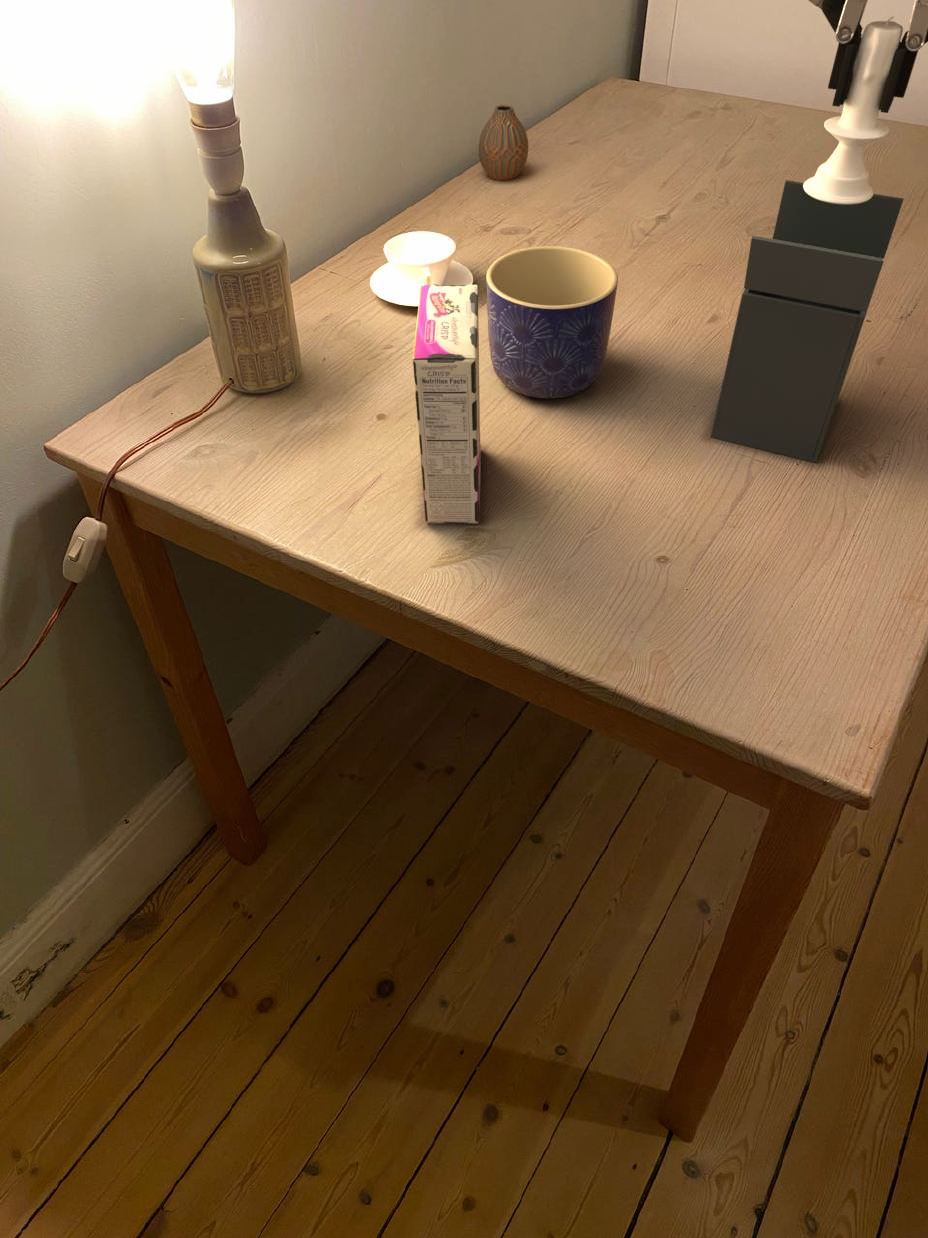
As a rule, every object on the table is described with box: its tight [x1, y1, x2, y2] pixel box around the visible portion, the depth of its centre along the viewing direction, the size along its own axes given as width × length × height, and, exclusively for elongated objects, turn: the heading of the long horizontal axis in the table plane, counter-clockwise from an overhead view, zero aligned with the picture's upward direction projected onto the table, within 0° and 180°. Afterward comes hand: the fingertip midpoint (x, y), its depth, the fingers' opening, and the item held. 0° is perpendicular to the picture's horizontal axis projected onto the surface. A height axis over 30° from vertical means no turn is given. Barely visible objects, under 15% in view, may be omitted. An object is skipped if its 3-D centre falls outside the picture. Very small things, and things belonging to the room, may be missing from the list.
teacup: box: [369, 231, 474, 307], centre depth 105 cm, size 12×12×5 cm
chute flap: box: [743, 235, 884, 312], centre depth 71 cm, size 5×10×1 cm
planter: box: [485, 245, 619, 399], centre depth 90 cm, size 12×12×11 cm
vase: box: [478, 104, 529, 181], centre depth 126 cm, size 7×7×9 cm
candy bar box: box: [412, 284, 482, 525], centre depth 76 cm, size 11×5×16 cm, turn 179°
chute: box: [710, 179, 905, 464], centre depth 81 cm, size 12×10×20 cm
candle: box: [803, 16, 904, 205], centre depth 68 cm, size 5×5×12 cm
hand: (863, 101), depth 68 cm, fingers closed on candle, 2 cm apart
